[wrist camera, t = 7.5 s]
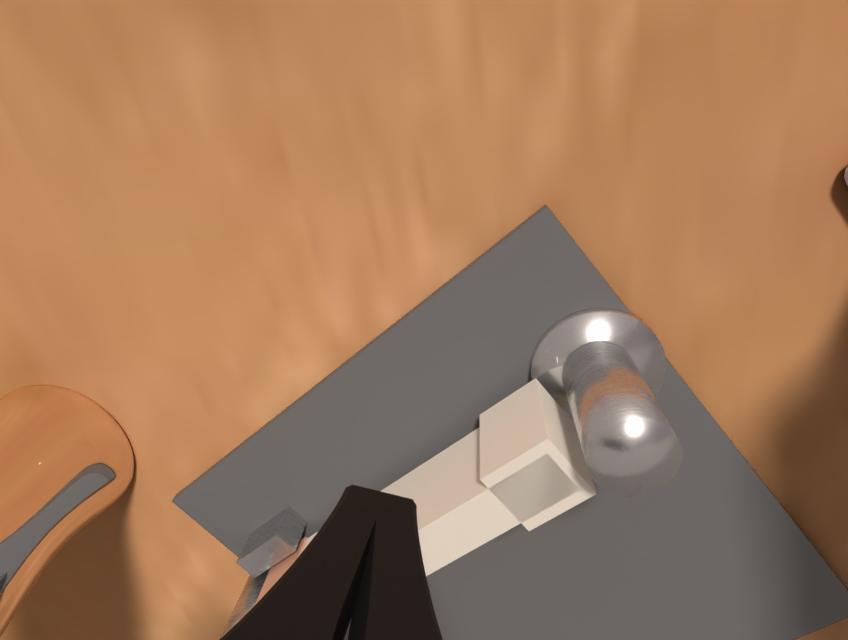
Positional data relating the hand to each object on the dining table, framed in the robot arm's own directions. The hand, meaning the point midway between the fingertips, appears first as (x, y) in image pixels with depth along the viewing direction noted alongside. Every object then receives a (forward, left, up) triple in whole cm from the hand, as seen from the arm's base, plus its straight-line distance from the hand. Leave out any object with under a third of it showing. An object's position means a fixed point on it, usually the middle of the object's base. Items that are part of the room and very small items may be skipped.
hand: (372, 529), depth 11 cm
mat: (+3, +10, -9) cm, 14 cm away
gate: (+4, +4, -8) cm, 10 cm away
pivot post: (-4, +5, -9) cm, 11 cm away
